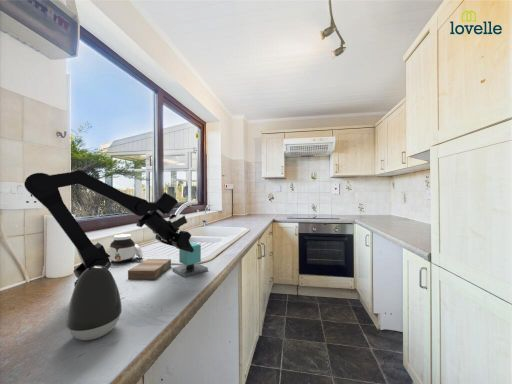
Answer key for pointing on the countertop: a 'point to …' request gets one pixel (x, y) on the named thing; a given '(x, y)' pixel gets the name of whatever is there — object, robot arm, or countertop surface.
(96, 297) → the dark grey egg shape
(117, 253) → the spread jar
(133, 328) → the countertop surface
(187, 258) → the turquoise square block
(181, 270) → the post stand
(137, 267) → the board
